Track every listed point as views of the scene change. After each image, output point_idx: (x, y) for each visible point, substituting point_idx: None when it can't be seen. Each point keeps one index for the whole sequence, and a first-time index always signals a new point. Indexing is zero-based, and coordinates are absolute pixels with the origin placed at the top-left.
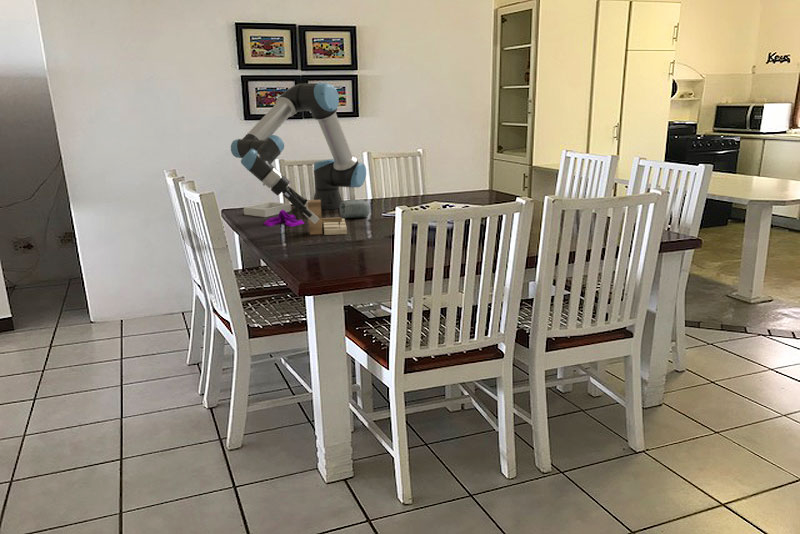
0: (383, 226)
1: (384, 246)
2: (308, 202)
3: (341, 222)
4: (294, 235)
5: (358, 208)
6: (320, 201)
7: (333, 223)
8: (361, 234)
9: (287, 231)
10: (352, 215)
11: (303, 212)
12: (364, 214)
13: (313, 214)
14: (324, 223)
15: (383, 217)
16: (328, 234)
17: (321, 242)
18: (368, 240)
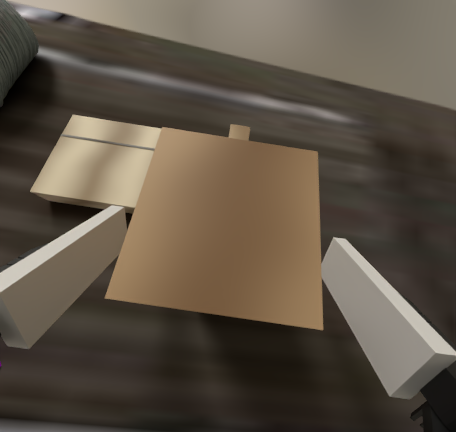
0: (201, 56)
1: (449, 113)
2: (319, 318)
3: (147, 139)
4: (238, 376)
5: (6, 29)
6: (299, 151)
7: None
8: (293, 125)
9: (118, 412)
10: (13, 78)
11: (413, 386)
12: (34, 46)
13: (377, 276)
14: (130, 203)
15: (69, 24)
16: None
17: (398, 267)
18: (378, 128)
